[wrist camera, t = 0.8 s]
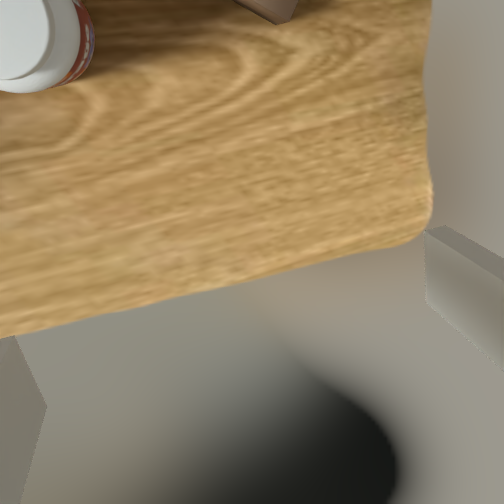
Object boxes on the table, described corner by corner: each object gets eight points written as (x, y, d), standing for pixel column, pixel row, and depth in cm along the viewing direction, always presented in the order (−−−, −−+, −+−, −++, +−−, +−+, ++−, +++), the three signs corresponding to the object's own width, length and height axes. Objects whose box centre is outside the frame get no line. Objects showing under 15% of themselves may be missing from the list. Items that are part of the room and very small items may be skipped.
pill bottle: (58, 106, 31) (13, 130, 21) (-31, 36, 29) (-130, 25, 19) (116, 31, 30) (99, 18, 20) (29, -49, 28) (-41, -109, 18)
